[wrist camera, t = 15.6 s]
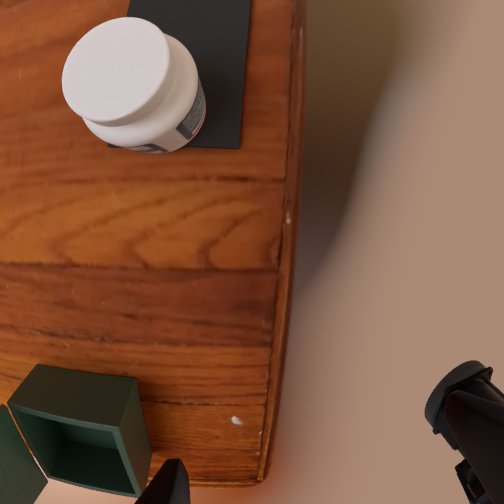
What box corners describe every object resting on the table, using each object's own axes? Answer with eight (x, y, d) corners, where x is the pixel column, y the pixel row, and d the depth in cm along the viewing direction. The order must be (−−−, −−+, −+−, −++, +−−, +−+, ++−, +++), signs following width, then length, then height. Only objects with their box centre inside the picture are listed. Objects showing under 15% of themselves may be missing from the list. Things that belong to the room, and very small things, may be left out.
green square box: (136, 377, 21) (118, 427, 16) (152, 453, 24) (144, 499, 18) (36, 363, 21) (6, 402, 15) (65, 438, 23) (47, 477, 17)
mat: (238, 149, 18) (239, 148, 18) (110, 147, 18) (107, 146, 17) (255, -49, 15) (256, -53, 14) (147, -48, 14) (145, -52, 13)
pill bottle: (182, 56, 16) (156, -22, 7) (221, 126, 17) (221, 84, 9) (106, 100, 16) (31, 57, 8) (142, 170, 18) (78, 170, 9)
